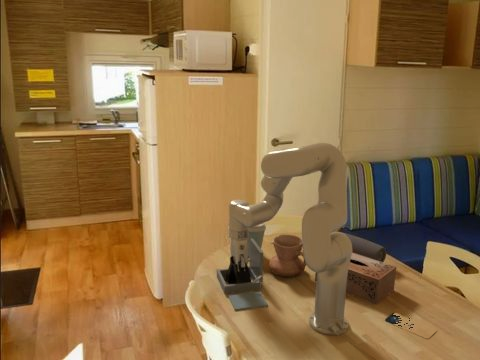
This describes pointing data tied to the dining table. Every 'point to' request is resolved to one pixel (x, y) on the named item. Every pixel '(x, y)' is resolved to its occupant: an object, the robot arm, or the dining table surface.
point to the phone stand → (232, 273)
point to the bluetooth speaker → (367, 248)
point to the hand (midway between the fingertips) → (238, 275)
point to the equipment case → (254, 272)
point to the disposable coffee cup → (256, 235)
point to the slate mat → (247, 300)
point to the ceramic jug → (287, 256)
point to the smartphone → (395, 320)
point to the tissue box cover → (369, 278)
